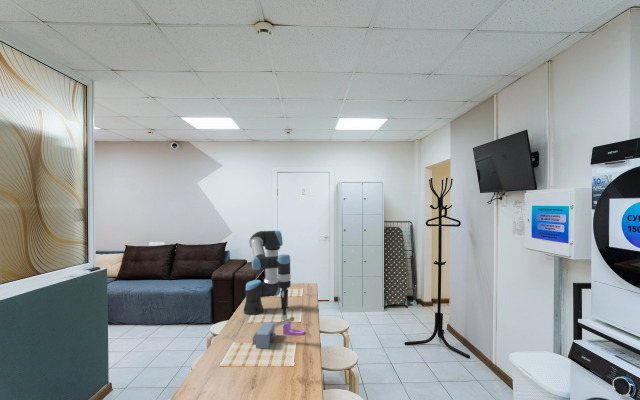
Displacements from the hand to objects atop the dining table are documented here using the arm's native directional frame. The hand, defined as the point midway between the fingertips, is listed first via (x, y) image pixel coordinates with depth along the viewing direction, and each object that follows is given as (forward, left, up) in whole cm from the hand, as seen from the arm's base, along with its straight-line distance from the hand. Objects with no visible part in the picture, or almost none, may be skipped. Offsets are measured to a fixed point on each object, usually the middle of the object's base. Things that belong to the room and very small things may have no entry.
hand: (284, 319), depth 182 cm
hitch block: (0, -12, -13) cm, 18 cm away
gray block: (0, -12, -13) cm, 18 cm away
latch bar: (0, -1, -3) cm, 3 cm away
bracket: (-12, +4, -14) cm, 19 cm away
